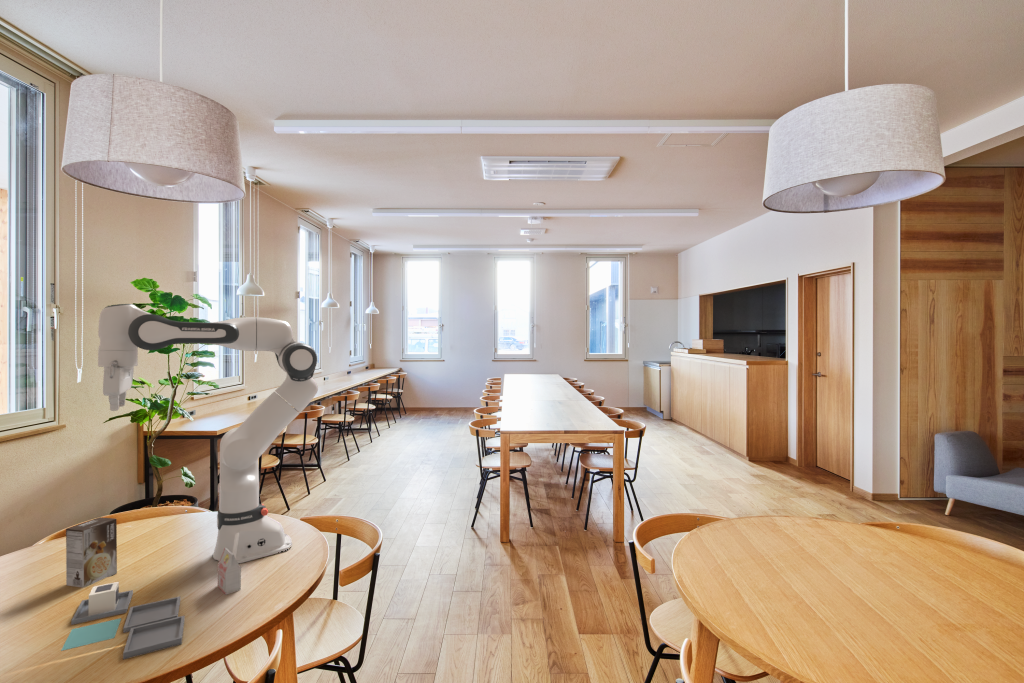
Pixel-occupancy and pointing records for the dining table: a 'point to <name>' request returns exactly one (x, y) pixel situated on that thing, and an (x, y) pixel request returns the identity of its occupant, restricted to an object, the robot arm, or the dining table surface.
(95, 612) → the white cube
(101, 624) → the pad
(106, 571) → the coffee box
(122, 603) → the dish
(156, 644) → the dish
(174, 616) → the dish
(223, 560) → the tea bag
